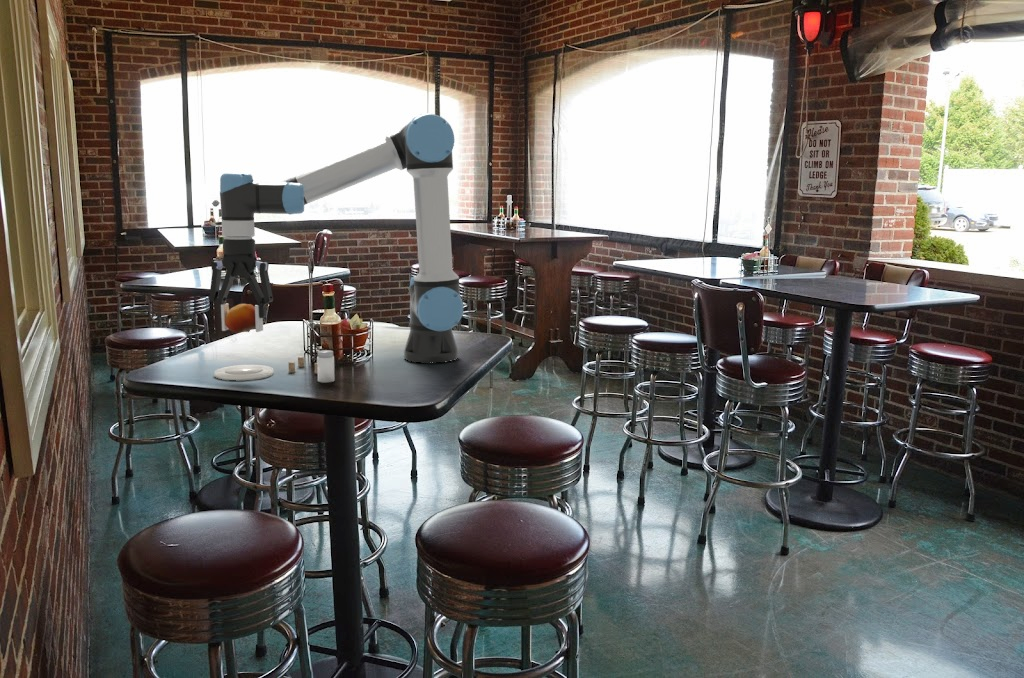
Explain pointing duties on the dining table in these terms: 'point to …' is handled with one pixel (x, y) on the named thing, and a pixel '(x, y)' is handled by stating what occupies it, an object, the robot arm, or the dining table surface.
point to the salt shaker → (325, 366)
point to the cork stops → (299, 365)
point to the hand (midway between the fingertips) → (242, 330)
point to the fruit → (241, 318)
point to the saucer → (243, 372)
